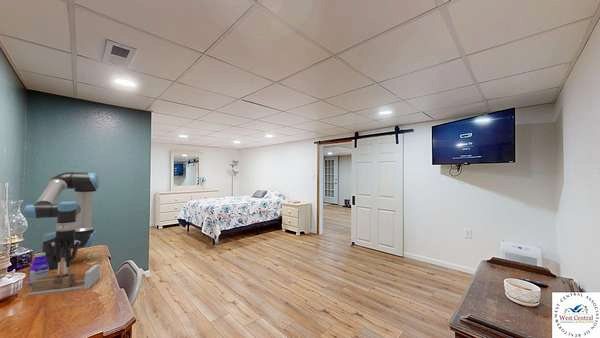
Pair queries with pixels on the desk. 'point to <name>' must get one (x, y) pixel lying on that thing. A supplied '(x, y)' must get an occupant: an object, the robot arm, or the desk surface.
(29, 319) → the desk surface
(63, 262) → the dowel
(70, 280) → the block
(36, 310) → the desk surface
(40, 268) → the bottle
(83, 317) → the desk surface
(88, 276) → the rail
